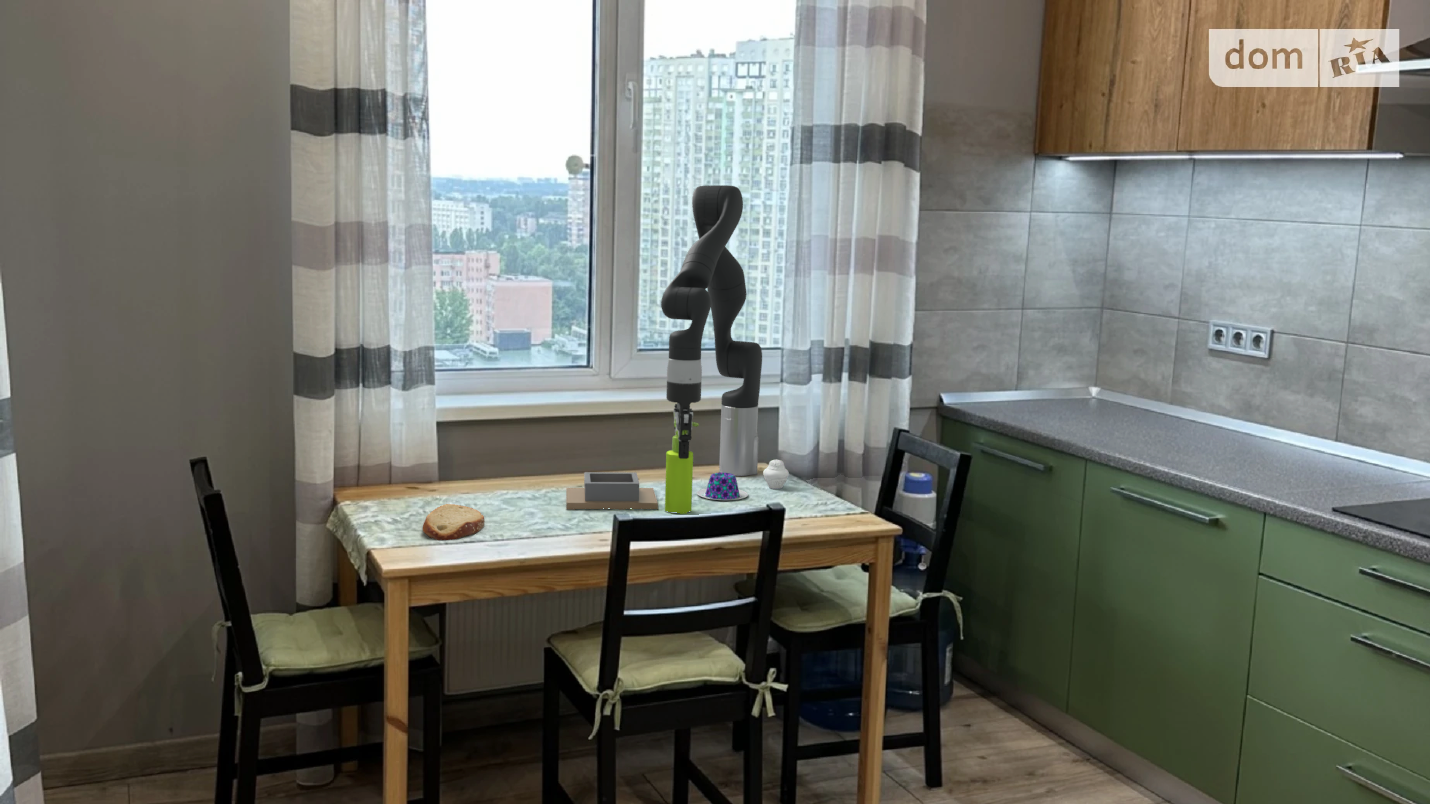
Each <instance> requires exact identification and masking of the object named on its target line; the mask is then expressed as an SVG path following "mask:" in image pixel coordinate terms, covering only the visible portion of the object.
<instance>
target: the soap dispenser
mask: <svg viewBox="0 0 1430 804" xmlns="http://www.w3.org/2000/svg"><path fill="white" fill-rule="evenodd" d="M673 426H676V421H675V422H674V421H673ZM699 426H700V424H699V423H698V422H695V421H692V427H696V428H697V427H699ZM682 435H684V431H682ZM671 439H672V442H671V443H672V444H671V450H668V451H666V453H665V456H666V457H665V494H664V495H665V496H664V511H665V512H666V511H668V512H677V513H680V514H679V515H683V514H684V515H685V514H686V515H687V514H688V513H687V512H689V511H691V512H692V508H693V507H692V504H693V474H694V473H693V471H694V469H693V467H694V452H693V451H690V450H689V458H687V459H680V458H679V457H678V450H679V441H678V432H677V434H676V435H673V436H672V438H671ZM668 512H667V513H668Z"/></svg>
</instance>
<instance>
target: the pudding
mask: <svg viewBox="0 0 1430 804" xmlns="http://www.w3.org/2000/svg"><path fill="white" fill-rule="evenodd" d="M737 481H738V480H737V477H736V476H735V475H733V474H731V473H721V472H715V473H711V475H710V476H709V479H708V483H707V487H706V488H702V489H699V490H697V491H696V495H698V496H699V497H701V498H704V499H709V500H713V501H714V500H715V501H720V500H721V501H730V500H732V501H736V500H741V499H745V498H747V497H748V496H749V494H748V492H746V491H745V490H742V489H739V485H738V482H737ZM704 493H705V494H706V495H705V494H704ZM701 494H704V496H702V495H701ZM710 498H711V499H710Z"/></svg>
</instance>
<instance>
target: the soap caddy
mask: <svg viewBox="0 0 1430 804" xmlns="http://www.w3.org/2000/svg"><path fill="white" fill-rule="evenodd" d="M583 475H584V477H583V479H584V480H583V481H584V482H583V483H584V484H583V487H566V488H565V492H566V493H565V498H566V500H565V501H566V502H565V503H566V504H565V505H566V506H565V507H566V509H565V510H575V509H603V508H604V509H608V508H610V509H619V510H625V509H630V508H632V509H658V508H659V507H658V505H659V502H658V500H657V499H658V498H657V496H656V492H655V489H654V487H640V480H639V476H638V473H637V472H636V471H635V472H626V471H625V472H621V471H620V472H618V471H617V472H616V471H615V472H612V471H611V472H608V471H607V472H605V471H604V472H602V471H598V472H595V471H594V472H593V471H592V472H590V471H589V472H588V471H585V472H583ZM658 510H659V509H658Z"/></svg>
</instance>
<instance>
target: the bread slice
mask: <svg viewBox="0 0 1430 804" xmlns="http://www.w3.org/2000/svg"><path fill="white" fill-rule="evenodd" d="M422 524H423V525H422V532H423V533H424V534H425V535H426V536H427V537H429V538H431V539H432V538H433V540H436V541H452V540H453V541H454V540H459V539H461V538H464V537H468V536H472V535H473V536H474V535H475V534H477V533H479V532H480V531H482V529H483V528H484V527H485V515H483V514H482V513H481V511H479V509H474V508H472V507H470V506H464V505H461V504H460V505H459V504H454V503H451V504H450V503H445V504H443V505H439V506H438V507H436V508H435V509H433V510H432V511H431V512H430V513H428V514H427V516H426V518H425V519H424V522H423V523H422Z"/></svg>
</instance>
